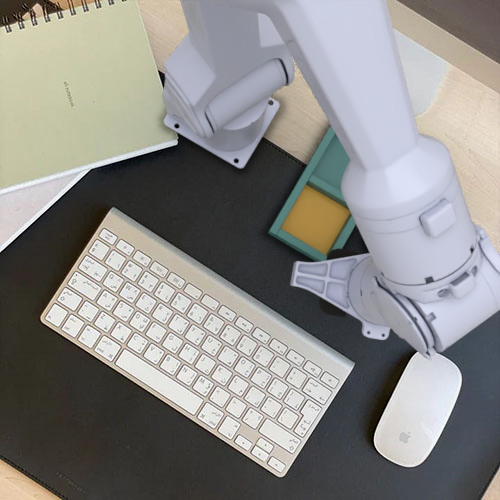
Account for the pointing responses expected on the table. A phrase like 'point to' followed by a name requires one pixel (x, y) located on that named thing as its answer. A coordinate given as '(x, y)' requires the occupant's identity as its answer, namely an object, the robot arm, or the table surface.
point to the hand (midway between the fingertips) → (358, 289)
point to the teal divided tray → (317, 204)
